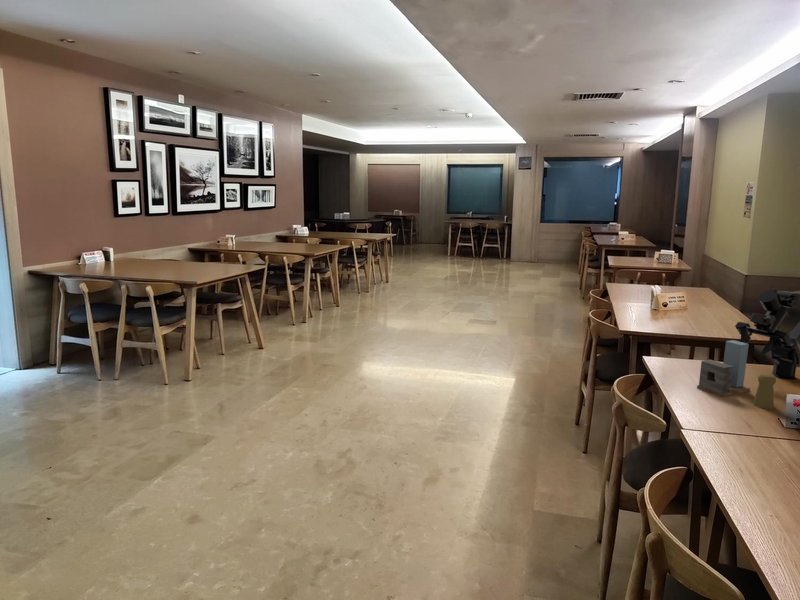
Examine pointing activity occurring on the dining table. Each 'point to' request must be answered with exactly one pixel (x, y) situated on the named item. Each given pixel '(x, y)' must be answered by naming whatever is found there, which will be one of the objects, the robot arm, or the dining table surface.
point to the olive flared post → (765, 391)
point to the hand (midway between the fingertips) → (750, 350)
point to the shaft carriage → (736, 361)
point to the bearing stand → (718, 379)
